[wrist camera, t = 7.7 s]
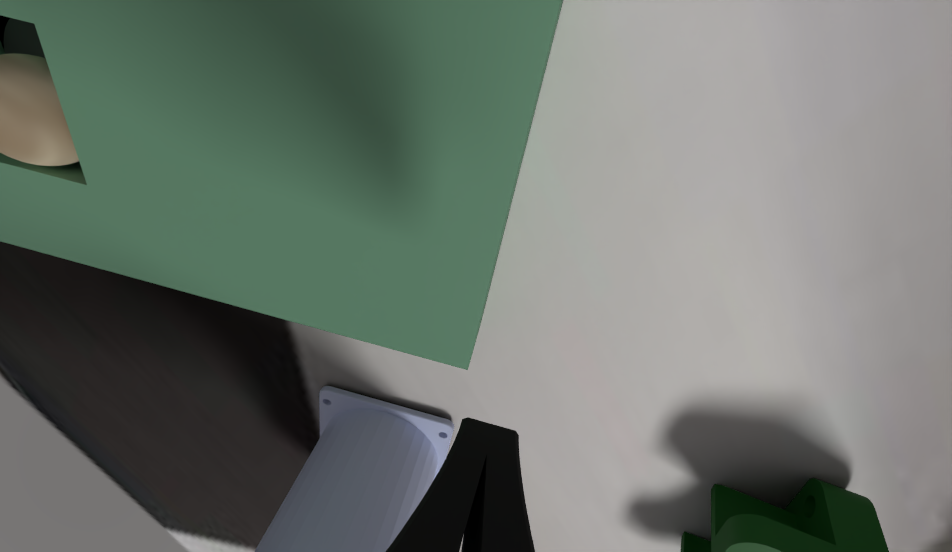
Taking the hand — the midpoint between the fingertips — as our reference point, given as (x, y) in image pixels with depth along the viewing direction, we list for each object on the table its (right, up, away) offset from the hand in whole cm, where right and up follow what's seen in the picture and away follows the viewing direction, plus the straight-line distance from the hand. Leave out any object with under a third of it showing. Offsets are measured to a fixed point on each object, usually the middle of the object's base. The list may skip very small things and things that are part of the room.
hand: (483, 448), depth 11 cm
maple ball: (-17, +11, +6) cm, 21 cm away
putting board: (-10, +11, +7) cm, 16 cm away
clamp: (+15, -10, +14) cm, 23 cm away
